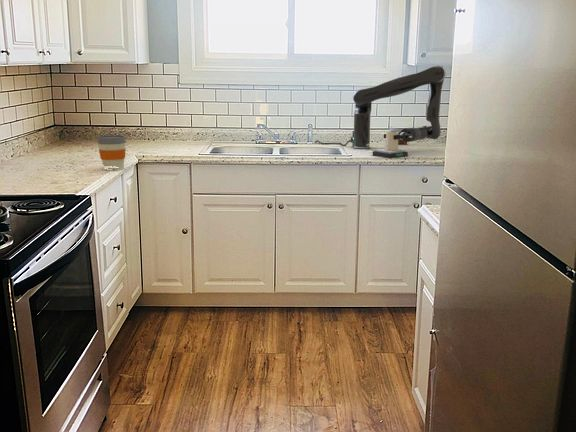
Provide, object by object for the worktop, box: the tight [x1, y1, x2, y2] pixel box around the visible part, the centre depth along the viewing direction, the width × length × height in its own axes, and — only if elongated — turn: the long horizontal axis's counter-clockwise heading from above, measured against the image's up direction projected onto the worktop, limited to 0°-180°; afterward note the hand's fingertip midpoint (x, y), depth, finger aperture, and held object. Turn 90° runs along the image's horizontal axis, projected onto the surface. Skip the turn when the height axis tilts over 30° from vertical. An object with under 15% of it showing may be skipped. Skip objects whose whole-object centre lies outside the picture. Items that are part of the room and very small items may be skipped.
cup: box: [385, 131, 399, 151], centre depth 324 cm, size 6×6×9 cm
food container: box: [389, 126, 408, 146], centre depth 369 cm, size 12×6×10 cm, turn 62°
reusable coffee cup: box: [97, 134, 127, 171], centre depth 287 cm, size 13×12×15 cm
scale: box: [371, 147, 409, 159], centre depth 324 cm, size 13×13×3 cm
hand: (389, 136), depth 322 cm, fingers closed on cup, 6 cm apart
